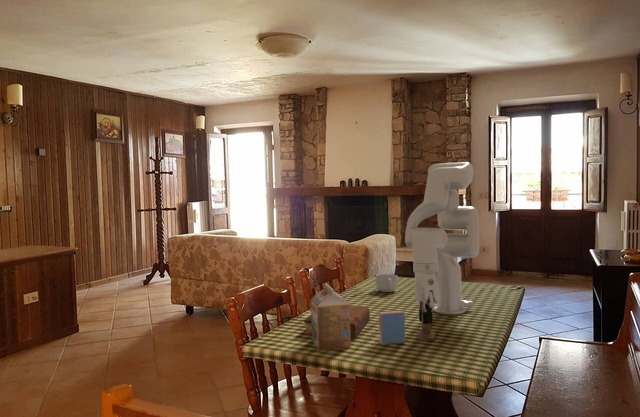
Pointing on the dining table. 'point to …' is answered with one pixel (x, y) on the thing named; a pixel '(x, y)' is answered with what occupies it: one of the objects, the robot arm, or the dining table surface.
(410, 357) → the dining table surface
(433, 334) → the post
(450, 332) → the dining table surface
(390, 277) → the teacup
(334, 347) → the milk carton
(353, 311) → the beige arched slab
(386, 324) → the tile
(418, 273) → the robot arm
